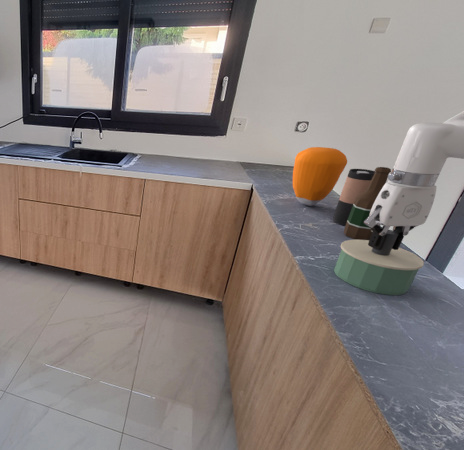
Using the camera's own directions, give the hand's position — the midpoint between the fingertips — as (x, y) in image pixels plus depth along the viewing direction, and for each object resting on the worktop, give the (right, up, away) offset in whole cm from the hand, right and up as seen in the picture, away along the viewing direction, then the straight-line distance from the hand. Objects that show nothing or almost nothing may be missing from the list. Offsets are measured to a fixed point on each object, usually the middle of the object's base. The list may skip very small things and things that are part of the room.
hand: (382, 246), depth 80 cm
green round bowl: (0, -9, +4) cm, 10 cm away
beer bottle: (+20, +2, +28) cm, 34 cm away
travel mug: (+25, +6, +38) cm, 46 cm away
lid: (0, -2, +1) cm, 2 cm away
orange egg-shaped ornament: (+25, +15, +57) cm, 64 cm away
